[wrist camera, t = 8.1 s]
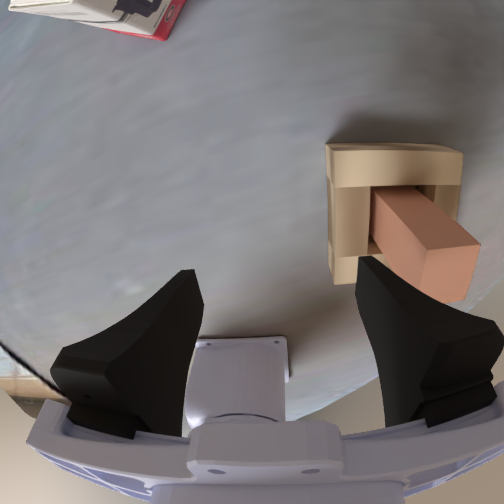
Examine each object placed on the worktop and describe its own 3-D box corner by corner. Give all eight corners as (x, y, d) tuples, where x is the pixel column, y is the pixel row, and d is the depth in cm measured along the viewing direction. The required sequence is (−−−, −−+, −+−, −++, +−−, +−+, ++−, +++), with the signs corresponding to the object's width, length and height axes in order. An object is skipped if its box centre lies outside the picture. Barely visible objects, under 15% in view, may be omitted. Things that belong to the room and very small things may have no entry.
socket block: (328, 263, 24) (334, 285, 21) (325, 143, 19) (333, 151, 17) (430, 254, 23) (445, 272, 20) (442, 145, 18) (463, 153, 15)
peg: (366, 227, 22) (414, 308, 14) (367, 184, 20) (427, 250, 12) (405, 224, 22) (464, 299, 13) (408, 183, 20) (480, 244, 11)
